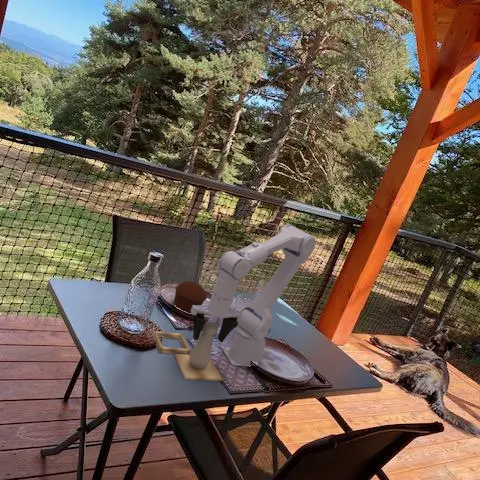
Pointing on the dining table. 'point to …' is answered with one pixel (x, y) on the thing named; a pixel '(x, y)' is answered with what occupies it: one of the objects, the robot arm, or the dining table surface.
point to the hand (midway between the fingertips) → (207, 339)
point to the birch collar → (167, 349)
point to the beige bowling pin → (203, 346)
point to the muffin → (189, 295)
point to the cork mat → (197, 374)
